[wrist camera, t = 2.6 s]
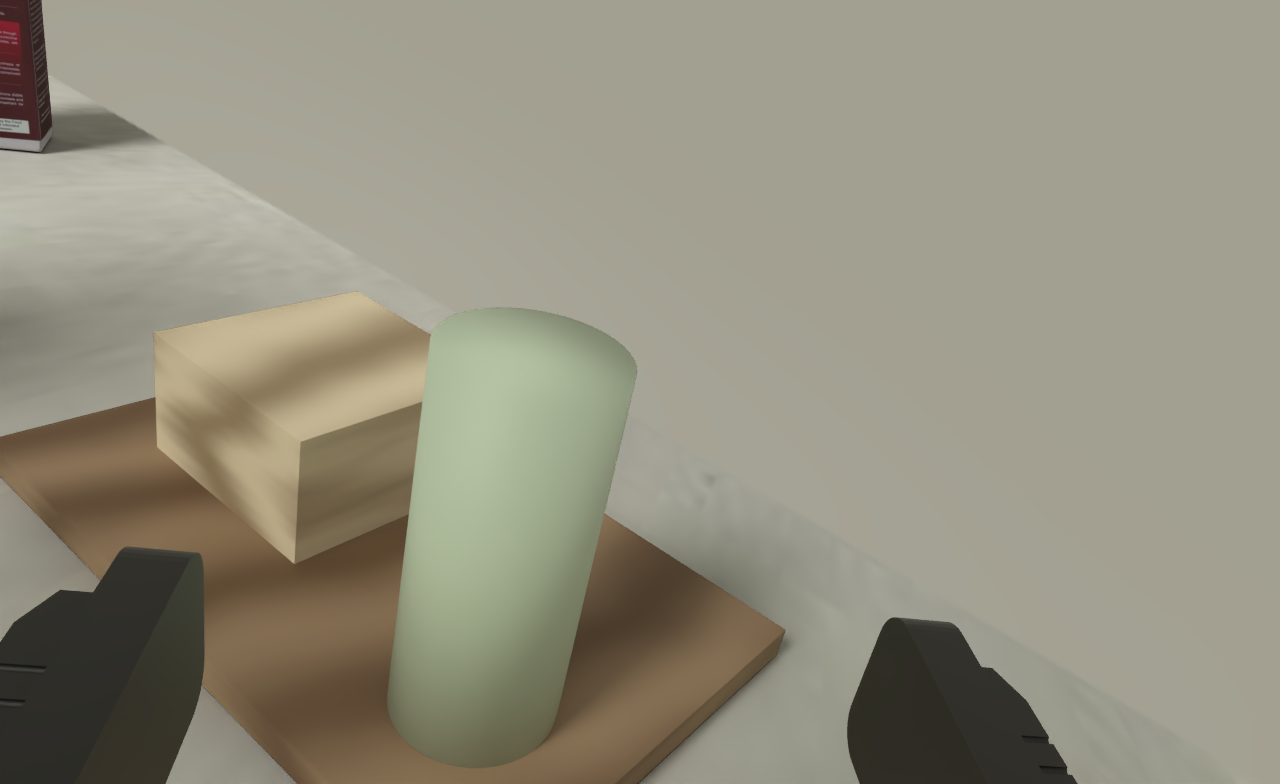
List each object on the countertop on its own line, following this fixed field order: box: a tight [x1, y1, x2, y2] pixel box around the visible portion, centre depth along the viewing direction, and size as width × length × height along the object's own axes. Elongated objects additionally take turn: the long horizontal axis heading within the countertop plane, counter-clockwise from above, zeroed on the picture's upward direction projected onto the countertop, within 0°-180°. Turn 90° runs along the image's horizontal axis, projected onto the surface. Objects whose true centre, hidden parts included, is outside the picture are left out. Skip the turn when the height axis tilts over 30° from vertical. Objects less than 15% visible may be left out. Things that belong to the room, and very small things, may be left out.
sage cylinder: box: [387, 308, 637, 768], centre depth 26 cm, size 5×5×12 cm
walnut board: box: [0, 397, 785, 784], centre depth 35 cm, size 26×16×1 cm, turn 52°
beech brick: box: [154, 291, 431, 564], centre depth 37 cm, size 9×9×5 cm
